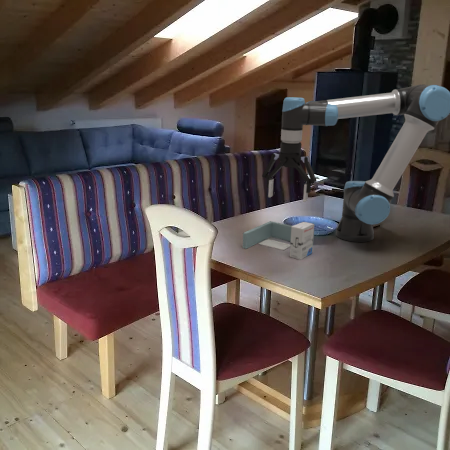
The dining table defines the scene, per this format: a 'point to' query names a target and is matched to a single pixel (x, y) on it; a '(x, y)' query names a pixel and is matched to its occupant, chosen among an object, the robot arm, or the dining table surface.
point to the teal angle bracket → (267, 233)
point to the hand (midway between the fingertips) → (287, 198)
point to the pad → (275, 244)
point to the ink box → (301, 240)
